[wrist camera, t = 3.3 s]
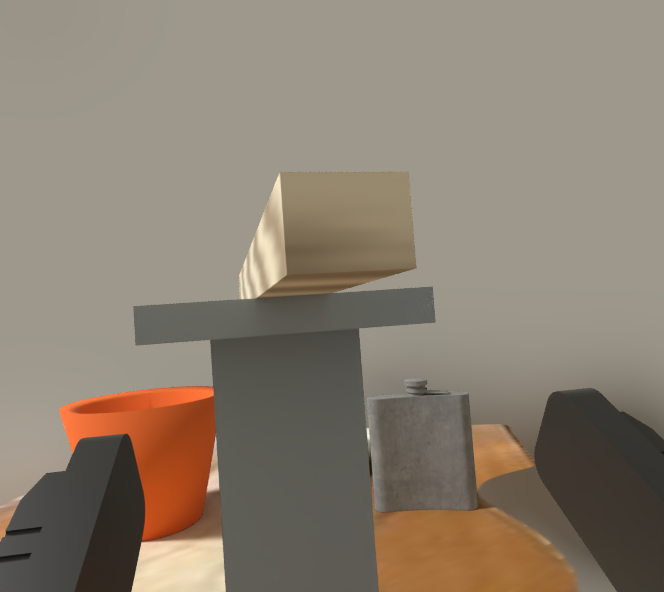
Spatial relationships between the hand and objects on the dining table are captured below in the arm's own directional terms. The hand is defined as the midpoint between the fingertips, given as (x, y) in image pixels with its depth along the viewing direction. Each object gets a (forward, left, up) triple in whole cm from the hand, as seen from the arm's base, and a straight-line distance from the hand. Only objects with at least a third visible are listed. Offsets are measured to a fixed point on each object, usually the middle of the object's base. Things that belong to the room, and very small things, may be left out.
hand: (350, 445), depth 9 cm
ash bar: (-10, +18, +4) cm, 21 cm away
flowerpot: (-56, +55, -28) cm, 84 cm away
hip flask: (-14, +69, -28) cm, 76 cm away
